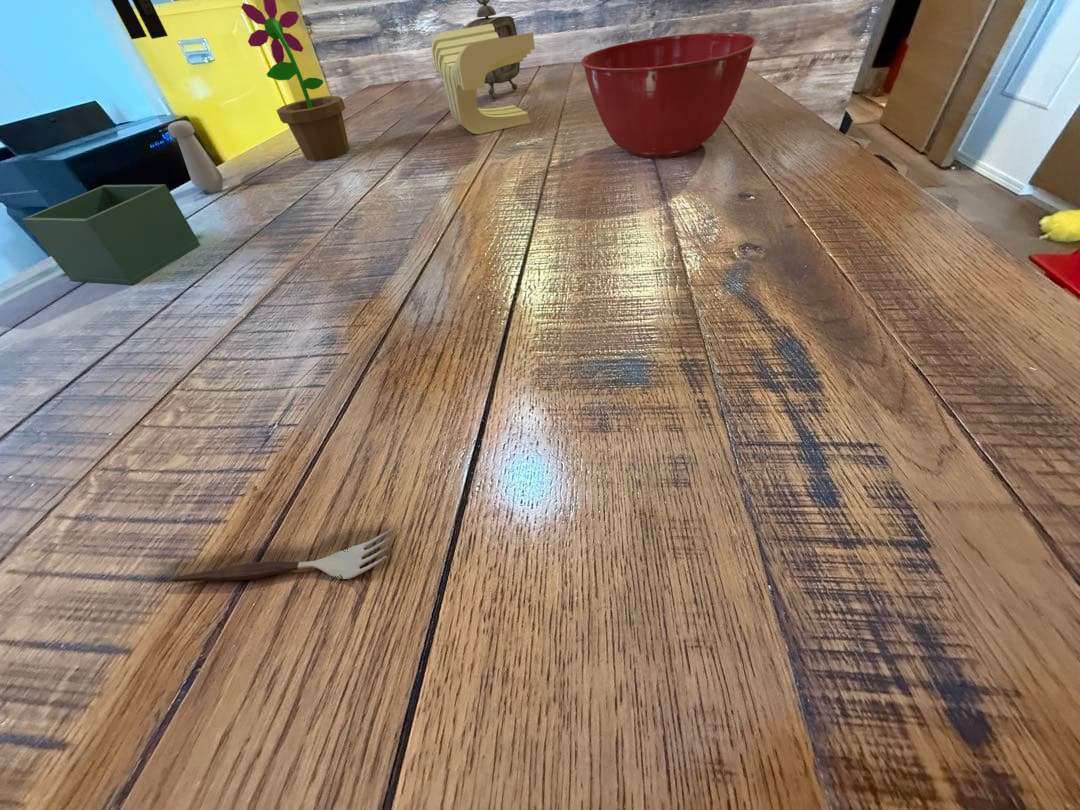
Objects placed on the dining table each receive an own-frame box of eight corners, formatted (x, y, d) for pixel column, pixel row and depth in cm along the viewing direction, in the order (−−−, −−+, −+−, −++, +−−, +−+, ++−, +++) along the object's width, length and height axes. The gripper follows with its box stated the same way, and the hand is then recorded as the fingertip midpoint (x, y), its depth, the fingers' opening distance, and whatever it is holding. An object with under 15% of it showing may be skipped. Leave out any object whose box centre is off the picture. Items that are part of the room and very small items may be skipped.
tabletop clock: (496, 101, 140) (478, -15, 124) (470, 101, 144) (449, -12, 128) (523, 88, 149) (510, -22, 132) (498, 89, 153) (482, -19, 136)
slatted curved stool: (445, 119, 132) (427, 35, 120) (503, 106, 135) (492, 23, 123) (474, 145, 110) (455, 46, 98) (542, 130, 113) (533, 32, 101)
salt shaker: (219, 194, 105) (182, 124, 96) (193, 197, 105) (154, 128, 97) (232, 184, 109) (198, 116, 101) (207, 187, 110) (171, 120, 101)
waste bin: (71, 281, 79) (21, 219, 73) (142, 242, 88) (104, 184, 82) (132, 285, 75) (86, 220, 69) (200, 244, 85) (165, 184, 78)
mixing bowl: (574, 176, 89) (567, 72, 78) (596, 129, 109) (593, 41, 99) (746, 169, 82) (764, 54, 72) (736, 120, 102) (749, 25, 92)
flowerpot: (339, 141, 127) (286, -14, 107) (369, 148, 119) (317, -19, 99) (286, 158, 120) (218, -3, 100) (314, 167, 112) (246, -7, 92)
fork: (184, 566, 37) (168, 551, 36) (400, 542, 36) (392, 525, 35) (167, 600, 35) (149, 586, 34) (395, 575, 34) (385, 559, 33)
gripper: (113, -134, 79) (190, 33, 93) (79, -107, 93) (151, 34, 107) (58, -133, 76) (147, 41, 90) (31, -105, 90) (112, 41, 104)
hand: (149, 38), depth 99 cm, fingers open, 13 cm apart
